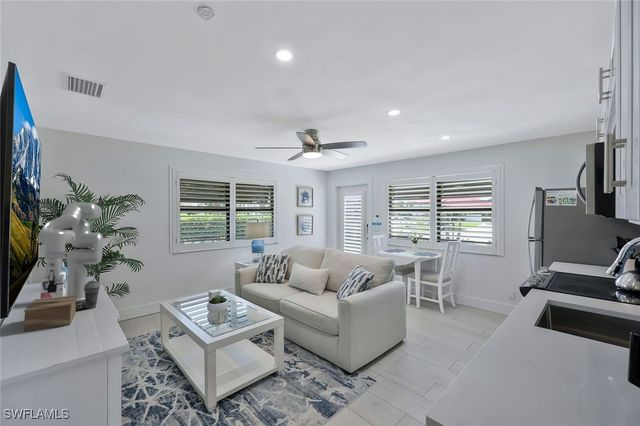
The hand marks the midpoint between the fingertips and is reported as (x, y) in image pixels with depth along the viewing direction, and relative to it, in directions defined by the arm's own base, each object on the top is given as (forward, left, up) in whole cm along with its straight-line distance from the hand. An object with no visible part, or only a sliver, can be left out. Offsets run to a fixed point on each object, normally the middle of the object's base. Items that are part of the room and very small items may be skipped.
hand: (53, 290), depth 141 cm
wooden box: (0, 0, -16) cm, 16 cm away
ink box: (0, 0, -3) cm, 3 cm away
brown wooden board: (0, 0, -7) cm, 7 cm away
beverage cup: (-18, +14, -16) cm, 28 cm away
